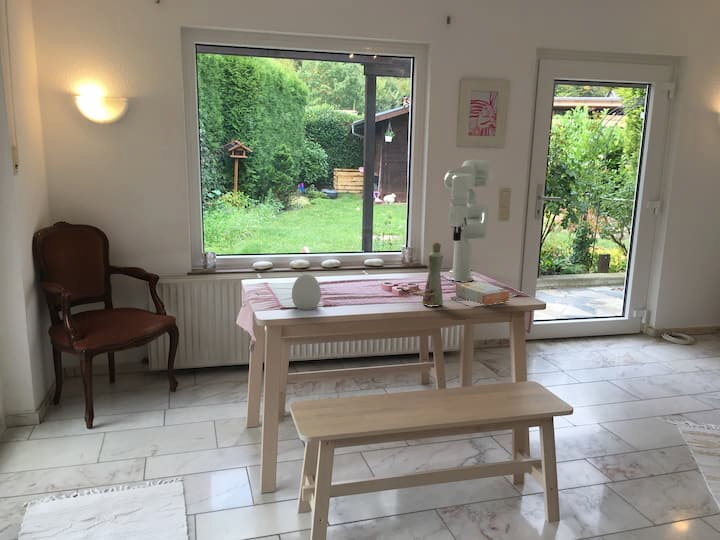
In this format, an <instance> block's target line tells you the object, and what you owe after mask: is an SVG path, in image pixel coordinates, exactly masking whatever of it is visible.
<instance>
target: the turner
mask: <svg viewBox="0 0 720 540" xmlns="http://www.w3.org/2000/svg"><path fill="white" fill-rule="evenodd" d="M410 289H411V290H410V291H411V292H412V293H411V294H412V295H414V296H415V295H416V296H418V295H420V296H419V297H422V296H424V292H425V291H421V290H417V289H412V288H410Z"/></svg>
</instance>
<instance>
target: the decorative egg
mask: <svg viewBox="0 0 720 540" xmlns="http://www.w3.org/2000/svg"><path fill="white" fill-rule="evenodd" d="M321 296H322V291H321V286H320V283H319V281H318V279H317V278H316V277H315V276H314V275H313V274H312V273H309V272H304V273H301V274H300V275H299V276H298V277H297V278H296V280H295V281H294V283H293V285H292V289H291V299H292V302H293V305H294V306H295V307H296V308H297V309H298V310H301V311H302V310H303V311H310V310H314V309H316V308H317V307H318V306H319V305H320V302H321V298H322V297H321Z"/></svg>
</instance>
